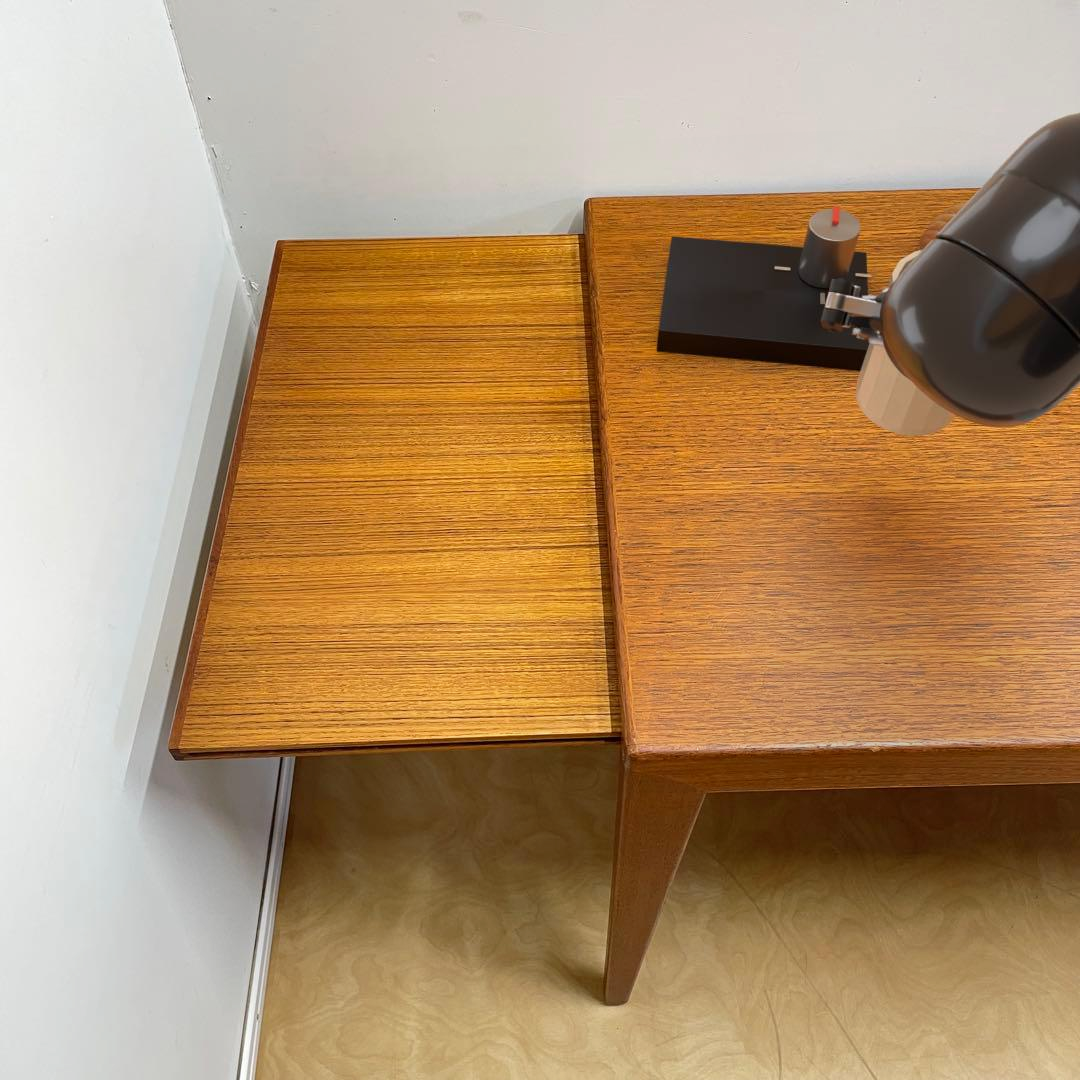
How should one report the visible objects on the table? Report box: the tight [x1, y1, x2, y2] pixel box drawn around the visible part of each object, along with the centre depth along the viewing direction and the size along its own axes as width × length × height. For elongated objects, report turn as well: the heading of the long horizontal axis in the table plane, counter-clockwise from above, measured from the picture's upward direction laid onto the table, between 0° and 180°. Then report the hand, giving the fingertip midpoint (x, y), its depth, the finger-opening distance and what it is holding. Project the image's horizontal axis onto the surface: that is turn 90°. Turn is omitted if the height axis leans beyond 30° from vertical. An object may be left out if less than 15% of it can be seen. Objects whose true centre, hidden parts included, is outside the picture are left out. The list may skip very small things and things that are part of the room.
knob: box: [798, 205, 862, 288], centre depth 88 cm, size 4×4×6 cm
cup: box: [855, 250, 957, 437], centre depth 64 cm, size 7×7×10 cm
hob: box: [656, 235, 872, 371], centre depth 90 cm, size 18×14×3 cm
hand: (927, 335), depth 65 cm, fingers closed on cup, 7 cm apart
